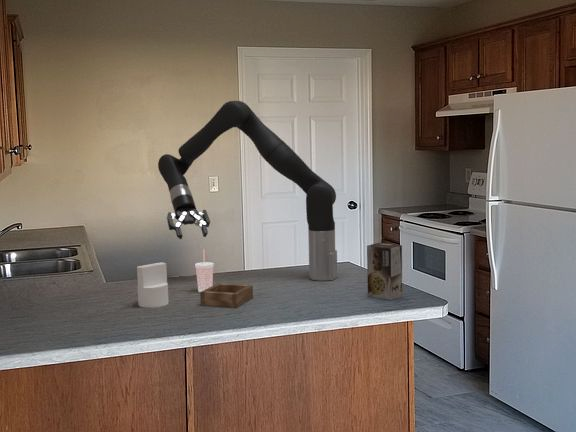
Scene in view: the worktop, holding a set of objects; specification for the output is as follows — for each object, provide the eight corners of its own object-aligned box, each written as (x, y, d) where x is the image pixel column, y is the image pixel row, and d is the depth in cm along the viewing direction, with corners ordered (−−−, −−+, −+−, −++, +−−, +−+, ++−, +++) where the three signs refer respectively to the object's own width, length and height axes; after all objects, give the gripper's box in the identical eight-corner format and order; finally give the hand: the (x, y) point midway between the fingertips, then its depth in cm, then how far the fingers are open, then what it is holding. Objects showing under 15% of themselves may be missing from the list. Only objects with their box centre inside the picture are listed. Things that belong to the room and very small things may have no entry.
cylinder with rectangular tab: (157, 298, 207) (156, 261, 206) (174, 303, 201) (172, 264, 199) (132, 304, 201) (130, 265, 199) (149, 309, 195) (147, 269, 193)
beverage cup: (192, 292, 214) (190, 249, 212) (201, 288, 220) (199, 246, 218) (209, 293, 212) (207, 250, 210) (217, 289, 218) (216, 247, 216)
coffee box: (403, 296, 202) (403, 244, 200) (391, 300, 198) (391, 247, 196) (378, 292, 208) (378, 242, 206) (366, 296, 204) (366, 244, 202)
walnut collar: (253, 297, 205) (252, 285, 204) (237, 307, 194) (236, 294, 193) (218, 295, 209) (217, 283, 208) (200, 305, 198) (200, 292, 197)
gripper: (164, 194, 227) (174, 231, 218) (203, 192, 233) (215, 228, 224) (161, 208, 232) (171, 245, 223) (199, 205, 238) (211, 241, 229)
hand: (193, 236), depth 224 cm, fingers open, 8 cm apart
